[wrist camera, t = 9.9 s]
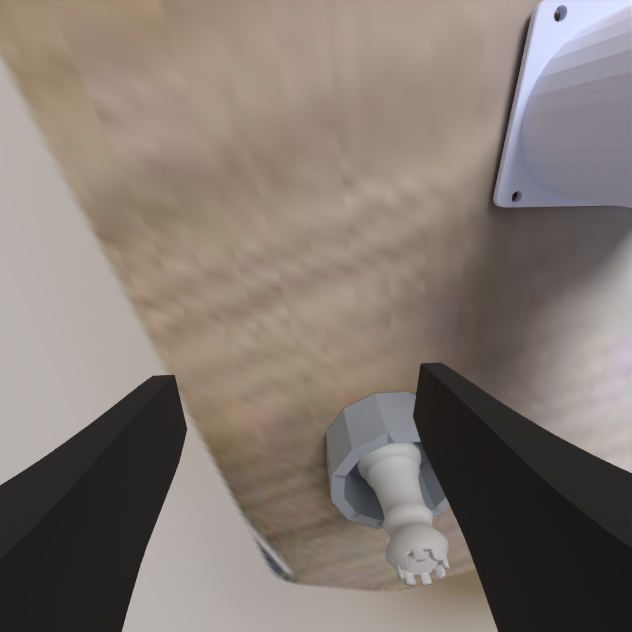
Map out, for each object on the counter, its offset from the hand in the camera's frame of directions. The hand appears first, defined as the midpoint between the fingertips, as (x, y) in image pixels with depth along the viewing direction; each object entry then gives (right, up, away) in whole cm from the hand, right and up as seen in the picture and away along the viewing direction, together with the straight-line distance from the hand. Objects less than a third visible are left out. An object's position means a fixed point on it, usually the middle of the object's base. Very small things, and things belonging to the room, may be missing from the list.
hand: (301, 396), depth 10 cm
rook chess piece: (+5, -6, +14) cm, 16 cm away
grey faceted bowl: (+5, -6, +14) cm, 16 cm away
